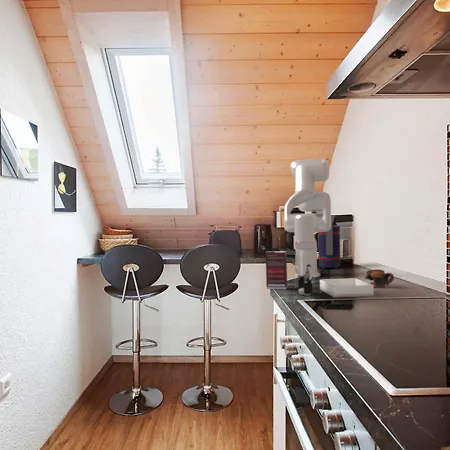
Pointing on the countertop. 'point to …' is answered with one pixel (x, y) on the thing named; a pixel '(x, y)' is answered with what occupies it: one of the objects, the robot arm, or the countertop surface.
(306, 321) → the countertop surface
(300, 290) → the figurine
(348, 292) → the bin
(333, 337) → the countertop surface
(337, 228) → the navy blue canister
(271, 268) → the supplement box
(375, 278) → the brown two-tone ridged part
